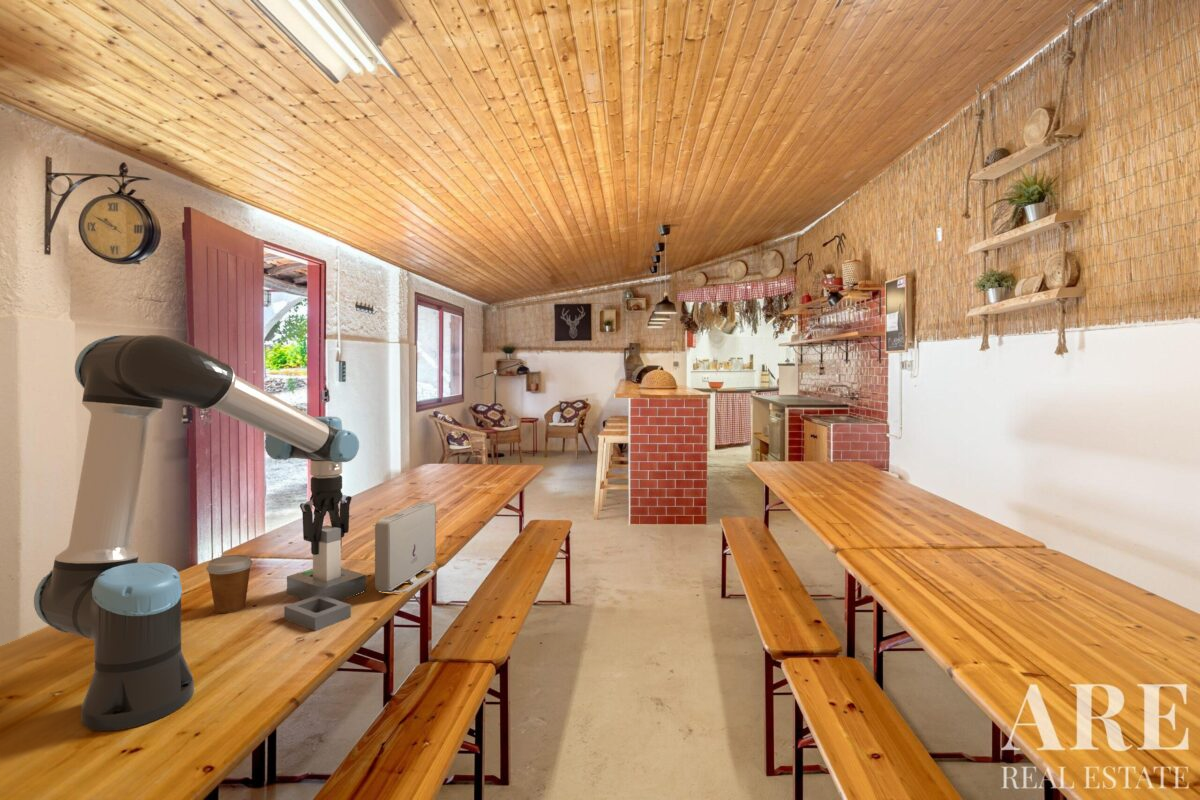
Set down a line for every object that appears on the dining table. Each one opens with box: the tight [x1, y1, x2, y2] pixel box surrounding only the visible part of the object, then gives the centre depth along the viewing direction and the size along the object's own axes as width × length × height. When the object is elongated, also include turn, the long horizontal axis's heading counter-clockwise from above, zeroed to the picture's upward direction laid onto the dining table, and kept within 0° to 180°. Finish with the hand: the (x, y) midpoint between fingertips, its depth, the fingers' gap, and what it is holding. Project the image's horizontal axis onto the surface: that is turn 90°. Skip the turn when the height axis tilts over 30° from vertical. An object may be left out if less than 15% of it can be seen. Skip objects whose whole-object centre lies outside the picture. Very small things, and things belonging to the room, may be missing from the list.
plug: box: [312, 525, 342, 581], centre depth 152 cm, size 4×6×14 cm, turn 59°
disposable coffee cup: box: [205, 553, 253, 614], centre depth 141 cm, size 10×10×12 cm
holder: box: [283, 594, 352, 632], centre depth 136 cm, size 9×12×3 cm
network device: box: [374, 501, 437, 594], centre depth 161 cm, size 26×9×20 cm, turn 168°
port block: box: [286, 567, 367, 601], centre depth 152 cm, size 12×16×5 cm
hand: (326, 563), depth 152 cm, fingers closed on plug, 4 cm apart
